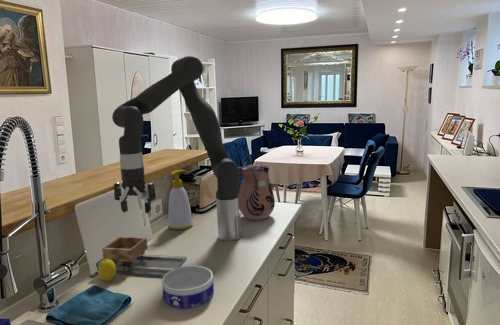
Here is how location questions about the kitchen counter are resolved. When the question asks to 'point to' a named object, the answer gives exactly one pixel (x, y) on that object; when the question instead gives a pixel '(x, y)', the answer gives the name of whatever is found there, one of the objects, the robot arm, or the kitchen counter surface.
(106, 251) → the wooden tray box
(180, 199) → the soap bottle
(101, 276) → the lemon
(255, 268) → the kitchen counter surface
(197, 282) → the dog bowl
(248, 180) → the ceramic pitcher
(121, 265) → the track
